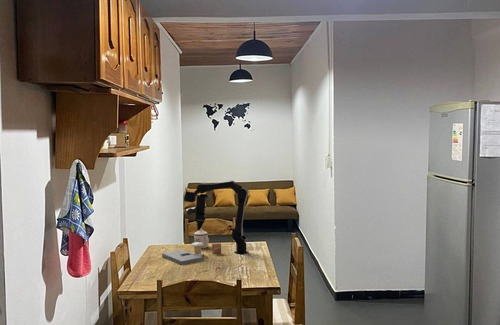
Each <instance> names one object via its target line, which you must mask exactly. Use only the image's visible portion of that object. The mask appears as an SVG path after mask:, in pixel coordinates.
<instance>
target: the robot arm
mask: <svg viewBox="0 0 500 325" xmlns="http://www.w3.org/2000/svg"><path fill="white" fill-rule="evenodd" d="M229 188H230V189H231V190H232V191H234V192H235V193H236V196H237V201H238V205H237V210H236V211H237V213H236V222H235V226H233V227H232V229H231V236H232V239H233V240H234V241H235V251H234V253H235V254H238V255H243V254H249V251H247V239H248V237H247V236H246V235H245V234H244V228H243V224H244V216H245V206H246V201H247V200H248V199H247V198H248V195H249V190H248V188H247V187H243V186H242V185H240V184H238V183H237V182H235V181H234V180H230V181H224V182H223V181H222V182H215V183H208V182H207V183H206V182H202V183H200V184H198V185H197V187H196V189H195V190H194V191H190V190H186V191H185V194H184V197H183V202H184V203H190V204H191V203H193V204H194V203H195V202H196V203H195V206H193V207H189V208H186V210H185V211H186V214H187V216H190V215H192V214H193V215H194V221H195V222H196V227H197V231H199V230H200V229H202V227H203V225H204V223H205V221H206V215H205V214H206V204H207V203H206V202H207V199H208V198H210V197H211V196H210V194H208V192H210V191H215V190H223V189H229Z"/></svg>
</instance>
